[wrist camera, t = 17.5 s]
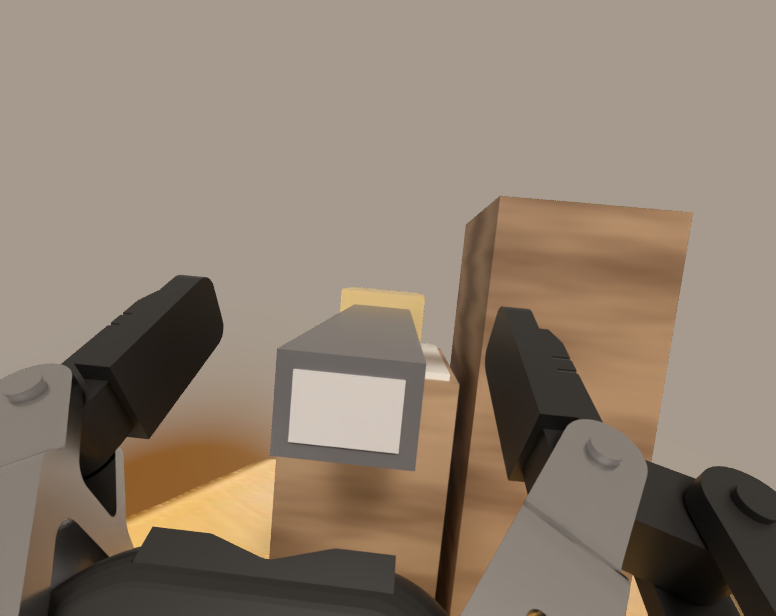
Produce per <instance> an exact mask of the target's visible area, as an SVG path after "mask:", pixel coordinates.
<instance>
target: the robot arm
mask: <svg viewBox="0 0 776 616" xmlns="http://www.w3.org/2000/svg"><path fill="white" fill-rule="evenodd" d="M222 335H223V321H222V317H221V313H220V309H219V305H218V301H217V297H216V293H215V290H214V286H213V283H212V281H211V280H210V279H209V278H207V277H197V276H186V275H178V276H176V277H174V278H173V279H172V280H171V281H169V282H168V283H167V284H166V285H165V286H164V287H162V288H161V289H160V290H159V291H156V292H154V293H152V294H150V295H148V296H146V297H144V298H142V299H140V300H138V301H137V302H135V303H134V304H133V305H132V306H131V307H129V308H128V309H127V310H126V311H125V312H123V315H120V316H119V317H117V318H116V319H115V320H114V321H112V322H111V326H106V327H105V328H104V329H103V330H102V331H100V332H99V333H98V334H97V335H96V336H94V337H93V338H92V339H91V340H90V341H88V342H87V343H86V344H85V345H84V346H83V347H81V348H80V349H79V350H78V351H76V352H75V353H74V354H73V355H71V356H70V357H69V358H68V359H67V360H65V361H64V362H63V363H62V364H42V365H36V366H32V367H29V368H25V369H22V370H20V371H17V372H15V373H13V374H10V375H8V376H6V377H4V378H2V379H1V380H0V616H449V615H448V613H447V612H446V611H445V610H444V609H443V608H442V607H441V606H440V604H439V603H438V602H437V601H436V600H435V599H434V598H433V597H432V596H430V595H429V594H428V593H427V592H426V591H424V590H423V589H422V588H421V587H419V586H418V585H416V584H415V583H413V582H412V581H410V580H409V579H407V578H405V577H403V576H401V575H399V574H396V573H395V563H396V555H388V554H380V553H371V552H363V551H354V550H346V549H337V548H334V549H328V550H322V551H317V552H311V553H306V554H300V555H294V556H289V557H283V558H277V559H264V558H261V557H259V556H257V555H255V554H253V553H251V552H249V551H246V550H244V549H242V548H240V547H238V546H236V545H234V544H232V543H230V542H228V541H226V540H224V539H222V538H220V537H217V536H215V535H213V534H210V533H202V532H194V531H185V530H177V529H168V528H160V527H152V529H151V531H150V532H149V534H148V536H147V537H146V539H145V541H144V543H143V544H142V546H141V547H137V548H134V547H133V544H132V541H131V539H130V537H129V534H128V530H127V525H126V510H125V485H124V459H123V452H122V450H121V448H120V445H121V444H122V442H123V441H124V440H125V438H126V437H134V438H143V439H149V438H150V437H151V436H152V434H153V433H154V432H155V430H156V429H157V428H158V426H159V424H160V423H161V422H162V421H163V419H164V418H165V417H166V415H167V414H168V412H169V411H170V410H171V408H172V407H173V406H174V404H175V403H176V401H177V400H178V399H179V397H180V395H181V394H182V393H183V392H184V390H185V389H186V388H187V386H188V385H189V384H190V382H191V381H192V379H193V378H194V377H195V375H196V374H197V373H198V371H199V370H200V369H201V367H202V366H203V365H204V363H205V361H206V360H207V359H208V358H209V356H210V355H211V354H212V352H213V351H214V349H215V348H216V347H217V345H218V344H219V342H220V340H221V338H222ZM485 371H486V376H487V381H488V386H489V391H490V396H491V401H492V406H493V410H494V415H495V420H496V425H497V430H498V435H499V439H500V444H501V449H502V454H503V459H504V464H505V469H506V473H507V478H508V481H518V482H525V486H526V490H527V494H528V496H527V497H526V499H525V501H524V503H523V505H522V506H521V508H520V510H519V512H518V513H517V515H516V517H515V519H514V521H513V522H512V524H511V526H510V528H509V529H508V531H507V533H506V535H505V536H504V538H503V540H502V542H501V544H500V545H499V547H498V549H497V551H496V552H495V554H494V556H493V558H492V560H491V561H490V563H489V565H488V567H487V568H486V570H485V572H484V574H483V575H482V577H481V579H480V581H479V583H478V584H477V586H476V588H475V590H474V591H473V593H472V595H471V597H470V598H469V600H468V602H467V604H466V606H465V607H464V609H463V611H462V613H461V614H460V616H625V612H626V608H627V603H628V599H629V592H630V583H629V579H628V578H627V577H626V576H625V575H623V574H622V572H621V570H623V571H626V572H628V573H630V574H632V575H634V577H635V580H636V583H637V586H638V588H639V591H640V594H641V597H642V599H643V602H644V605H645V608H646V610H647V613H648V616H740V614H739V612H738V610H737V609H736V607H735V605H734V603H733V601H732V599H731V597H730V595H731V594H733V595H734V597H735V599H736V601H737V603H738V604H739V606H740V608H741V610H742V612H743V614H744V615H745V616H776V491H774V490H773V489H772V488H770V487H769V486H768V485H766V484H764V483H763V482H761V481H760V480H758V479H756V478H754V477H752V476H750V475H748V474H746V473H744V472H741V471H739V470H736V469H733V468H728V467H722V466H716V467H711V468H708V469H706V470H705V471H704V472H703V473H702V474H701V475H700V476H698V478H696V479H695V478H692V477H689V476H687V475H684V474H681V473H679V472H676V471H673V470H670V469H668V468H665V467H662V466H660V465H657V464H654V463H652V462H649V461H647V460H645V459H644V457H643V455H642V453H641V452H640V450H639V449H638V447H637V446H636V445H635V444H634V443H633V442H632V441H631V440H630V439H629V438H628V437H627V436H625V435H624V434H623V433H621V432H620V431H618V430H617V429H615V428H614V427H611V426H609V425H607V424H605V423H603V421H602V419H601V417H600V415H599V413H598V411H597V410H596V408H595V406H594V404H593V402H592V400H591V398H590V396H589V394H588V392H587V390H586V388H585V386H584V384H583V382H582V380H581V378H580V376H579V374H577V373H576V371H577V370H576V368H575V366H574V364H573V362H572V361H570V356H569V354H568V352H567V350H566V348H565V346H564V344H563V343H562V342H561V341H560V340H559V339H558V338H557V337H556V336H555V335H554V334H553V333H552V332H551V331H550V330H549V329H540V328H539V326H538V324H537V322H536V320H535V317H534V315H533V313H532V311H531V310H530V309H525V308H514V307H504V306H501V307H500V308H499V310H498V312H497V315H496V318H495V322H494V325H493V329H492V332H491V335H490V339H489V342H488V346H487V349H486V354H485Z"/></svg>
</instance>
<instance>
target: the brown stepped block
mask: <svg viewBox="0 0 776 616" xmlns="http://www.w3.org/2000/svg"><path fill="white" fill-rule="evenodd" d="M692 215H693V213H692V212H682V211H670V210H658V209H646V208H636V207H623V206H612V205H600V204H589V203H578V202H566V201H554V200H543V199H531V198H520V197H508V196H500V197H498V198H497V199H496V200H495V201H494V202H492V203H491V204H490V205H489V206H488V207H486V208H485V209H484V210H483V211H482V212H480V213H479V214H478V215H477V216H476V217H474V219H472V220H471V221H470V222H468V223H467V224H466V229H465V238H464V248H463V256H462V265H461V274H460V283H459V291H458V292H459V293H458V300H457V309H456V318H455V327H454V336H453V345H452V354H451V363H450V366H449V364H448V362H447V361H446V359H445V357H444V355H443V353H442V351H441V350H440V349H438V348H437V347H436V345H435V344H425V343H420V344H421V348H422V351H423V354H424V357H425V361H426V372H425V382H424V391H423V401H422V410H421V420H420V429H419V439H418V448H417V457H416V467H415V471H406V470H397V469H388V468H378V467H369V466H360V465H351V464H342V463H332V462H323V461H314V460H305V459H296V458H287V457H277V456H276V469H275V484H274V498H273V513H272V528H271V542H270V557H269V559H277V558H283V557H289V556H294V555H300V554H306V553H311V552H317V551H322V550H328V549H334V548H337V549H346V550H354V551H363V552H371V553H380V554H388V555H396V563H395V573H396V574H399V575H401V576H403V577H405V578H407V579H409V580H410V581H412V582H413V583H415V584H416V585H418V586H419V587H421V588H422V589H423V590H424V591H426V592H427V593H428V594H429V595H430V596H432V597H433V598H434V599H435V600H436V601H437V602H438V603H439V604H440V606H441V607H442V608H443V609H444V610H445V611H446V612H447V613H448V615H449V616H460V614H461V613H462V611H463V609H464V607H465V606H466V604H467V602H468V600H469V598H470V597H471V595H472V593H473V591H474V590H475V588H476V586H477V584H478V583H479V581H480V579H481V577H482V575H483V574H484V572H485V570H486V568H487V567H488V565H489V563H490V561H491V560H492V558H493V556H494V554H495V552H496V551H497V549H498V547H499V545H500V544H501V542H502V540H503V538H504V536H505V535H506V533H507V531H508V529H509V528H510V526H511V524H512V522H513V521H514V519H515V517H516V515H517V513H518V512H519V510H520V508H521V506H522V505H523V503H524V501H525V499H526V497H527V496H528V494H527V490H526V486H525V482H518V481H508V478H507V473H506V469H505V464H504V459H503V454H502V449H501V444H500V439H499V435H498V430H497V425H496V420H495V415H494V410H493V406H492V401H491V396H490V391H489V386H488V381H487V376H486V371H485V354H486V349H487V346H488V342H489V339H490V335H491V332H492V329H493V325H494V322H495V318H496V315H497V312H498V310H499V308H500V307H501V306H504V307H514V308H525V309H530V310H531V311H532V313H533V315H534V317H535V320H536V322H537V324H538V326H539V328H540V329H549V330H550V331H551V332H552V333H553V334H554V335H555V336H556V337H557V338H558V339H559V340H560V341H561V342H562V343H563V344H564V346H565V348H566V350H567V352H568V354H569V356H570V361H572V362H573V364H574V366H575V368H576V370H577V371H576V373H577V374H579V376H580V378H581V380H582V382H583V384H584V386H585V388H586V390H587V392H588V394H589V396H590V398H591V400H592V402H593V404H594V406H595V408H596V410H597V411H598V413H599V415H600V417H601V419H602V421H603V423H605V424H607V425H609V426H611V427H614V428H615V429H617V430H618V431H620V432H621V433H623V434H624V435H625V436H627V437H628V438H629V439H630V440H631V441H632V442H633V443H634V444H635V445H636V446H637V447H638V449H639V450H640V452H641V453H642V455H643V457H644V459H645V460H647V461H649V462H651V461H652V455H653V449H654V442H655V437H656V431H657V425H658V419H659V413H660V407H661V401H662V394H663V389H664V383H665V377H666V371H667V364H668V359H669V353H670V347H671V341H672V335H673V329H674V324H675V318H676V311H677V306H678V300H679V293H680V287H681V282H682V275H683V270H684V264H685V258H686V252H687V245H688V240H689V234H690V228H691V222H692ZM621 572H622V574H623V575H625V576H626V577H627V578H628V579H629V583H630V586H631V580H632V574H630V573H628V572H626V571H623V570H621ZM627 604H628V603H627ZM626 610H627V608H626ZM625 616H626V612H625Z"/></svg>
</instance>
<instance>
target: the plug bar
mask: <svg viewBox="0 0 776 616" xmlns="http://www.w3.org/2000/svg"><path fill="white" fill-rule="evenodd" d="M424 302H425V297H424V296H423V295H422V294H420V293H411V292H401V291H390V290H380V289H369V288H359V287H351V288H345V289H342V294H341V307H340V313H338V314H337V315H335V316H333V317H331V318H330V319H328V320H327V321H324V322H323V323H321V324H319V325H318V326H316V327H314V328H312V329H311V330H309V331H307V332H305V333H304V334H302V335H300V336H298V337H297V338H295V339H293V340H292V341H290V342H288V343H286V344H285V345H283V346H281V347H279V348H277V360H276V374H275V389H274V405H273V419H272V434H271V449H270V456H277V457H287V458H296V459H305V460H314V461H323V462H332V463H342V464H351V465H360V466H369V467H378V468H388V469H397V470H406V471H415V467H416V457H417V448H418V439H419V429H420V420H421V410H422V401H423V391H424V382H425V372H426V361H425V357H424V354H423V351H422V348H421V344H420V341H421V331H422V322H423V312H424Z"/></svg>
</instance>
